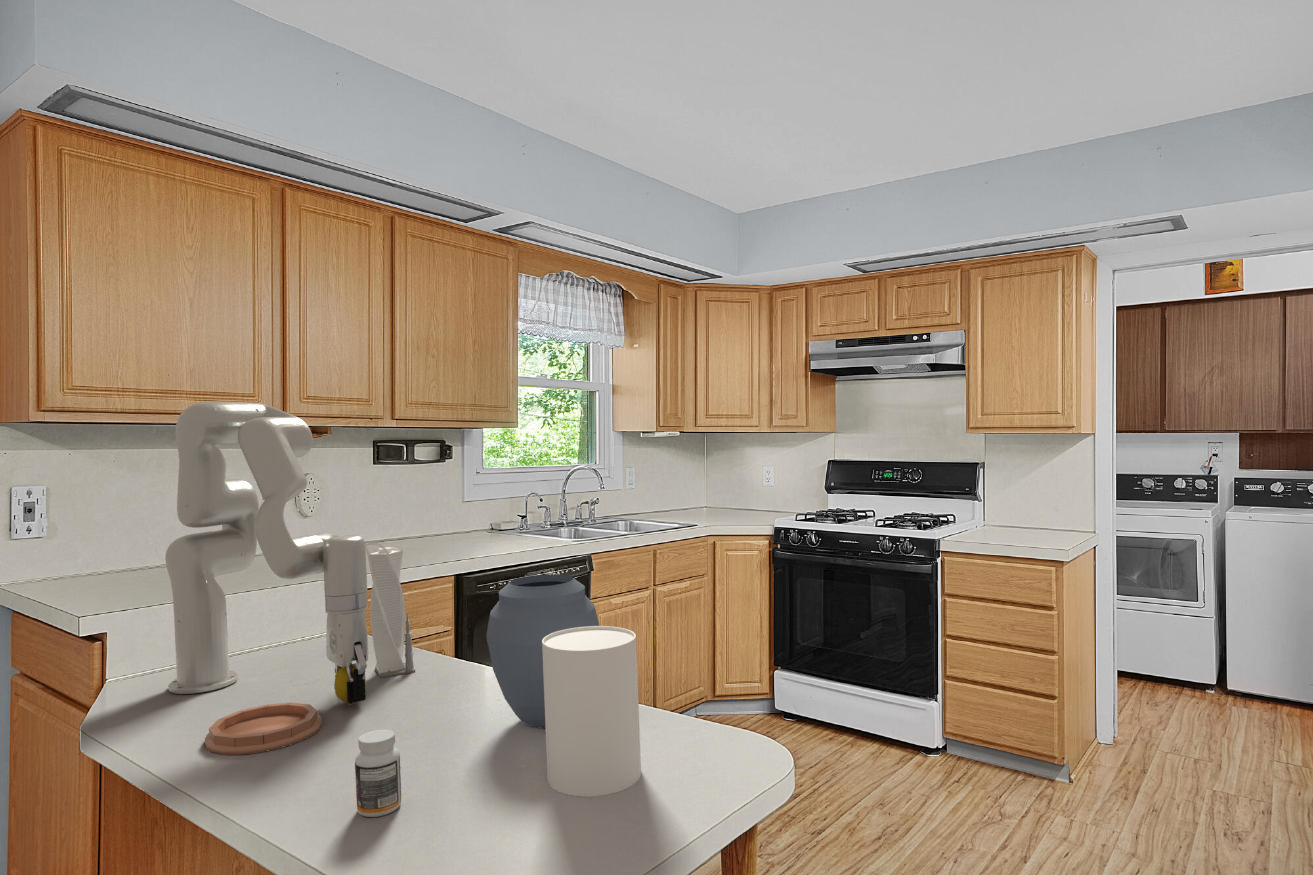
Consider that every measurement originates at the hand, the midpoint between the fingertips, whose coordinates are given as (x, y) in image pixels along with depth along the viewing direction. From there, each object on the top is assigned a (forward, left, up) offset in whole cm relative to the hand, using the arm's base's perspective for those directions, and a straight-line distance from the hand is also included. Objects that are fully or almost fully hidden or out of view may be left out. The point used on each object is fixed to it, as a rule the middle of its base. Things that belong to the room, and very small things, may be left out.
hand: (350, 696), depth 152 cm
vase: (+34, +22, -2) cm, 41 cm away
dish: (+4, -16, -1) cm, 17 cm away
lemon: (0, 0, -2) cm, 2 cm away
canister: (+58, +15, -2) cm, 60 cm away
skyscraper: (-16, +14, -2) cm, 21 cm away
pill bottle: (+46, -12, -2) cm, 48 cm away
